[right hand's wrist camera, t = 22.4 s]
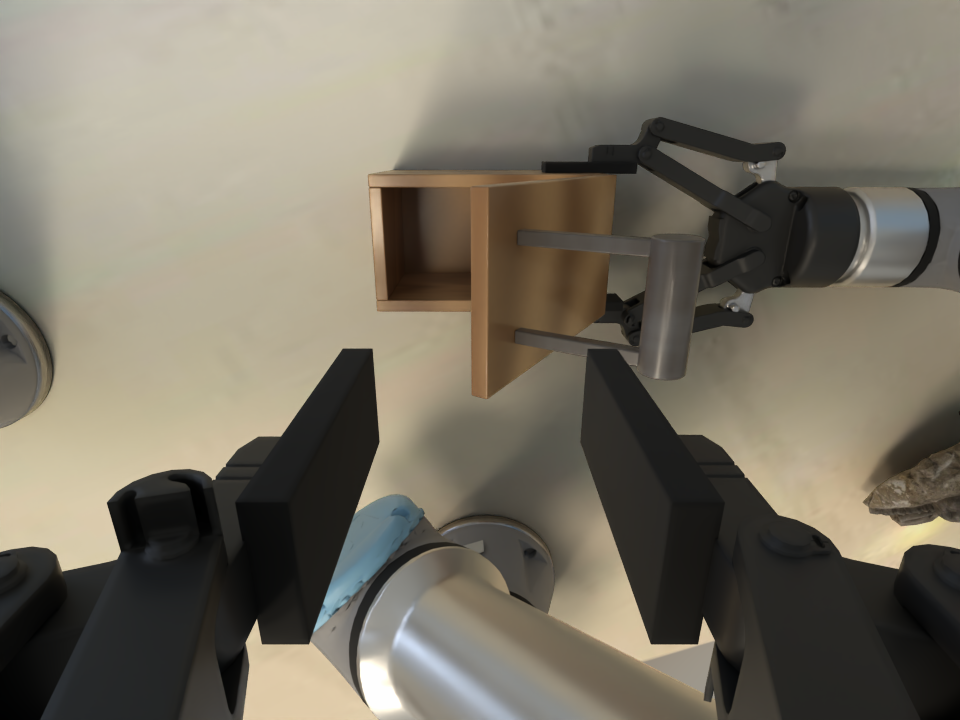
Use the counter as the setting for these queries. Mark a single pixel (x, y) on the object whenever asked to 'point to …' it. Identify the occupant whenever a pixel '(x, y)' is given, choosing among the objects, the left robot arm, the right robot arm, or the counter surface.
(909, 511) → the fossil
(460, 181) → the chest
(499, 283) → the lid
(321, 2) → the counter surface
